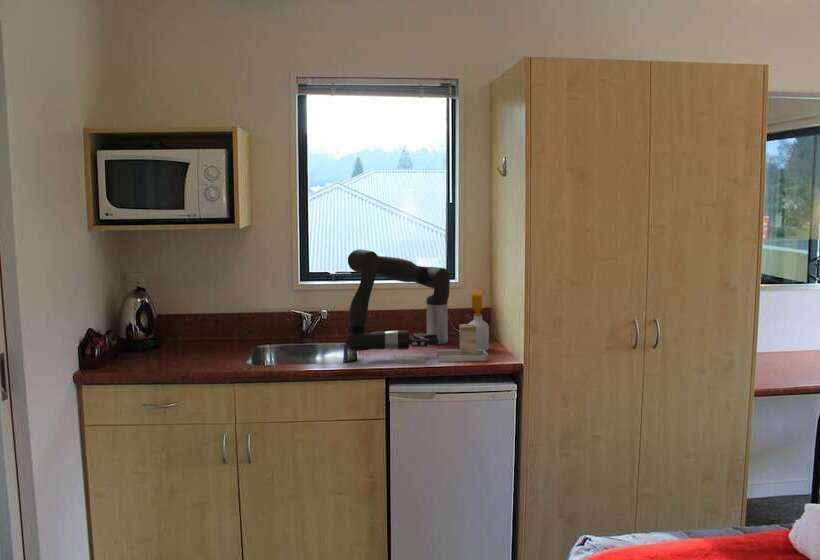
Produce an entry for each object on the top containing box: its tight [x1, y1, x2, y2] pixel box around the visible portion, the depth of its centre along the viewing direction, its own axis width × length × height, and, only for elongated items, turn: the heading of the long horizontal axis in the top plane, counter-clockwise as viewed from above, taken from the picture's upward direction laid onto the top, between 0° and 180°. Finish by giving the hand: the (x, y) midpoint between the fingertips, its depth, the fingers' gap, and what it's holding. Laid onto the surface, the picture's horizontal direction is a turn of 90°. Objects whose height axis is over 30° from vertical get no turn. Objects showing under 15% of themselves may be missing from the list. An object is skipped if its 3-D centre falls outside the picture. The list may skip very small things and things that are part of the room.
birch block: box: [459, 323, 476, 355], centre depth 254 cm, size 5×6×13 cm
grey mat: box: [394, 353, 427, 363], centre depth 254 cm, size 12×12×1 cm
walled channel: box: [436, 348, 490, 362], centre depth 255 cm, size 11×20×2 cm, turn 92°
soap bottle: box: [468, 290, 490, 352], centre depth 268 cm, size 9×9×25 cm
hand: (437, 339), depth 254 cm, fingers open, 8 cm apart
